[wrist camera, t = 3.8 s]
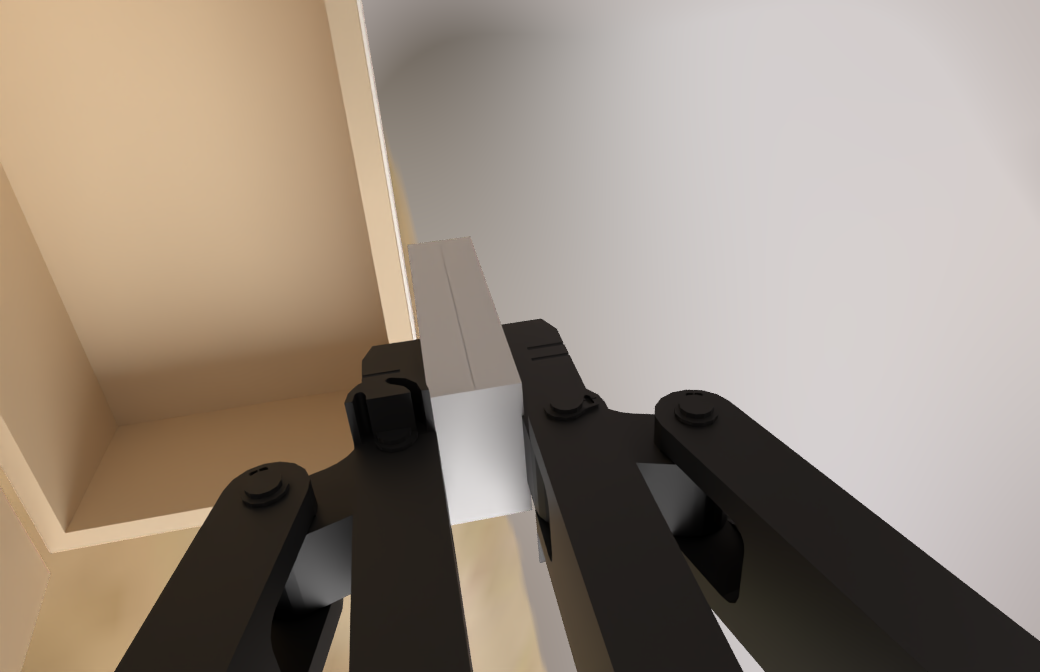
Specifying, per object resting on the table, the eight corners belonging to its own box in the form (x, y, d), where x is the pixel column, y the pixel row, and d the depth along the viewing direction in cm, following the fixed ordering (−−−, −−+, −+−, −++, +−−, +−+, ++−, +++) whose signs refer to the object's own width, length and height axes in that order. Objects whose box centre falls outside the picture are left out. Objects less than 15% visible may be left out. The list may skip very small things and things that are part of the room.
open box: (-166, -167, 20) (-383, -210, 14) (330, -194, 22) (319, -242, 16) (109, 436, 32) (49, 553, 26) (425, 384, 33) (439, 482, 27)
